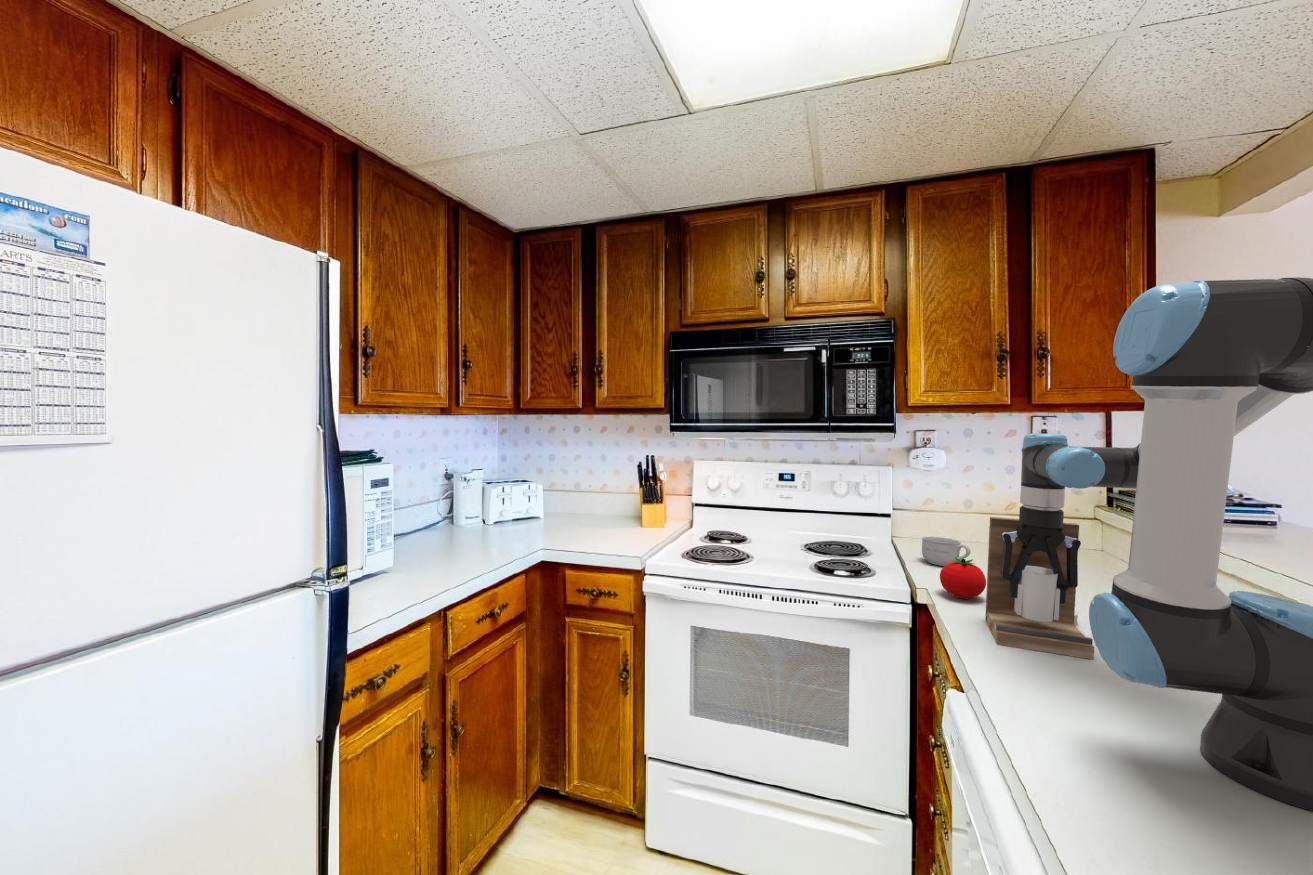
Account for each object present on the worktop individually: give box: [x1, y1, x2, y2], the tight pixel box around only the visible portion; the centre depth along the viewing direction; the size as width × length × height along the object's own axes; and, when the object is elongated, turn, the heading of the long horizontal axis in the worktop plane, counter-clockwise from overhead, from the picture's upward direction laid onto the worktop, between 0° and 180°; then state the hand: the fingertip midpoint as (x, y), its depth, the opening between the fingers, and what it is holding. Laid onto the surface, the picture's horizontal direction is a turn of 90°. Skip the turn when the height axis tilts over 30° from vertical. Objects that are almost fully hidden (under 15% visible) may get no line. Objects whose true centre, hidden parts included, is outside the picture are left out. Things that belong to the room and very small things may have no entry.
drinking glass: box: [1019, 566, 1058, 622], centre depth 112 cm, size 7×7×10 cm
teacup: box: [921, 535, 971, 567], centre depth 166 cm, size 14×11×8 cm
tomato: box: [939, 557, 987, 599], centre depth 137 cm, size 10×10×10 cm
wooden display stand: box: [984, 516, 1095, 660], centre depth 112 cm, size 14×16×24 cm
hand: (1035, 615), depth 112 cm, fingers closed on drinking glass, 6 cm apart
